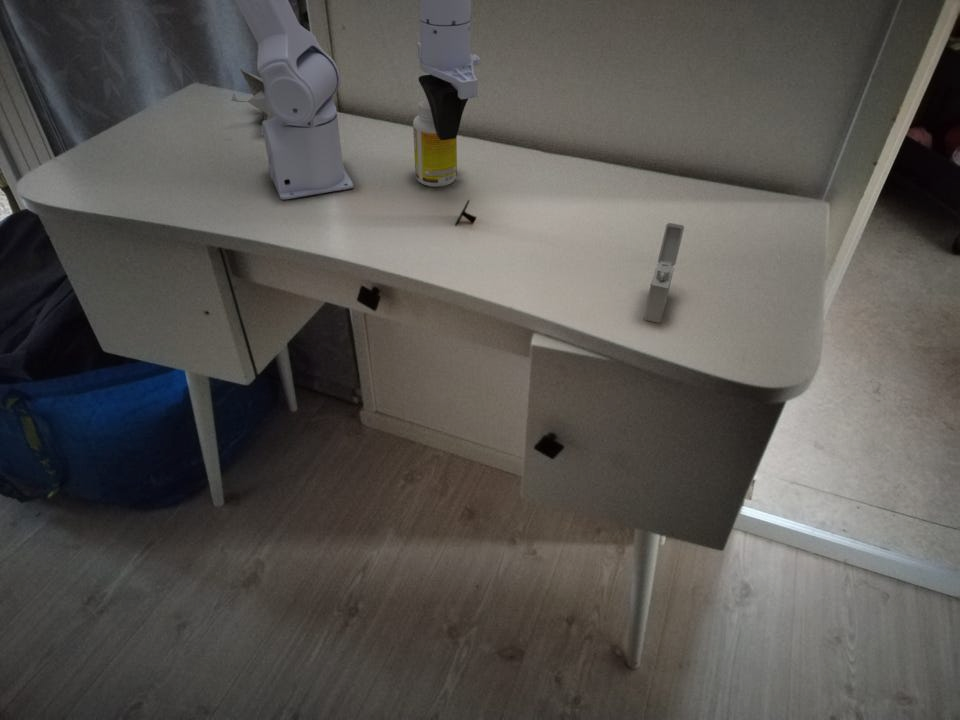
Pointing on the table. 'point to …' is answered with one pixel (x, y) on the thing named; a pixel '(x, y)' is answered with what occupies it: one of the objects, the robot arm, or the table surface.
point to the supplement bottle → (432, 151)
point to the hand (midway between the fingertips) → (446, 137)
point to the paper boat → (257, 95)
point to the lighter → (663, 273)
